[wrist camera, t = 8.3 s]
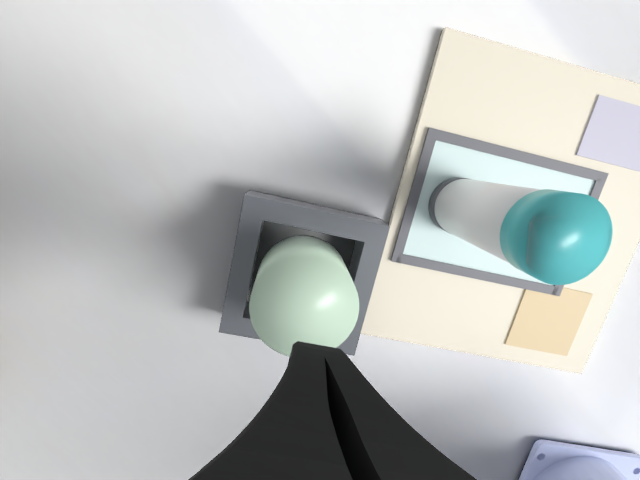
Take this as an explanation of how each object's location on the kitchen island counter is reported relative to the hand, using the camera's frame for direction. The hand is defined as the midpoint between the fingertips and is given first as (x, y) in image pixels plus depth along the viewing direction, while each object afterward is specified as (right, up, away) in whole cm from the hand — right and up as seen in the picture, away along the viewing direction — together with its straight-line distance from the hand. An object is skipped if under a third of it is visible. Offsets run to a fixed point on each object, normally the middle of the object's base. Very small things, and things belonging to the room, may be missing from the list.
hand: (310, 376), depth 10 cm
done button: (-1, +2, +8) cm, 8 cm away
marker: (+7, +6, +9) cm, 13 cm away
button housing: (-1, +2, +10) cm, 10 cm away
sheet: (+11, +5, +10) cm, 16 cm away
